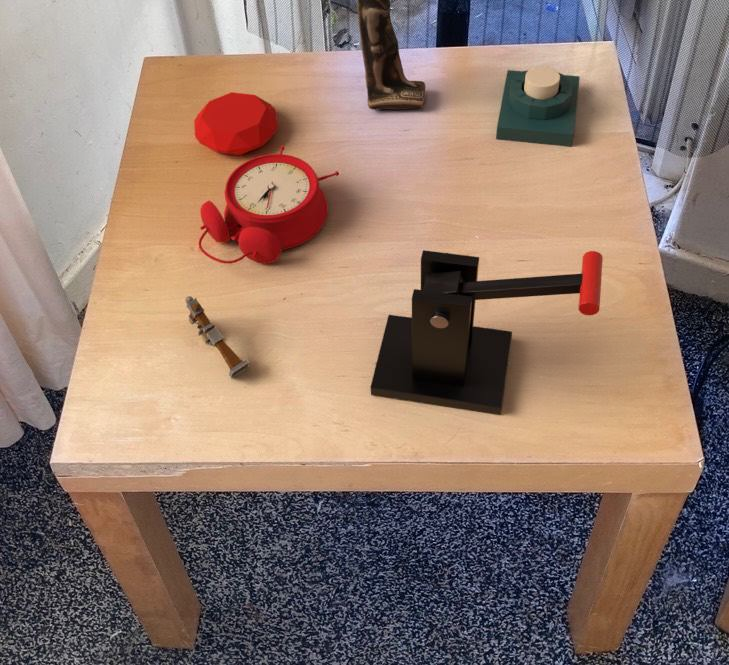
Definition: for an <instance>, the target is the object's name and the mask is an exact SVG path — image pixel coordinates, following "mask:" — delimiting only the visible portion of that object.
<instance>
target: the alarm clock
mask: <svg viewBox="0 0 729 665" xmlns="http://www.w3.org/2000/svg"><path fill="white" fill-rule="evenodd" d="M285 149H286V147H285V145H280V152H279V153H270V154H264V155H260V156H255V157H253V158H251V159H249V160H247V161H245V162H243V163H241V164H240V165H239V166H237V167H236V168H235V169H234V170H233V171H232V172H231V173H230V175H229V176H228V178H227V180H226V183H225V189H224V199H225V202H226V205H225V208H224V213H223V215H222V213H221V212H220V210H219V208H218V207H217V206H216V205H215V204H214V203H213V201H211V200H207V201H205V202H204V203H202V205H201V207H200V218H201V221H202V224H203V225H202V226H200V227H199V228H200V230H202V231H203V230H204V229H205V230H204V232H203V233H202V234H201V236H200V237H199V239H198V249H199V250H200V251H201V253H203V255H205V256H206V257H208V258H209V259H211V260H212V261H215V262H218V263H221V264H228V265H229V264H234V263H238V262H240V261H242V260H243V259H244V258H247V259H249V260H251V261H253V262H255V263H259V264H271V263H274V262H276V261H277V260H278V259H279V257H280V256H281V255H282V251H284V250H288V249H291V248H295V247H297V246H300V245H302V244H304V243H306V242H307V241H309V240H311V239H312V238H313V237H314V236H316V235H317V234H318V233H319V231H320V230H321V229H322V228H323V227H324V225H325V223H326V222H327V218H328V213H329V204H328V200H327V196H326V195H325V193H324V191H323V190H322V189H321V187H320V182H321V181H324V180H326V179H328V178H331V177H334V176H336V177H338V176H340V173H339V172H340V171H338V170H336V171H335V172H334V173H330V174H326V175H323V176H320V177H318V174H317V173H316V172H315V170H314V168H313V167H312V166H311V165H310V164H309V163H307V162H306V161H305V160H304V159H301V158H299V157H297V156H294V155H291V154H284V153H283V152H284V151H285ZM207 233H208V234H209V235H210V237H211V238H212V239H213V240H214V241H216V242H217V243H221V244H224V243H227V242H228V241H230V240H233V241H237V242H238V247H239V250H240V252H241V253H242V254H243V255H241V256H239V257H238V258H235V259H233V260H223V259H220V258H217V257H215V256H213V255H211V254H209V253H208V252H207V251H206V250H205V249H204V248H203V246H202V242H203V240H204V238H205V236H206V234H207Z"/></svg>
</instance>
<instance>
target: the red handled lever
mask: <svg viewBox="0 0 729 665" xmlns="http://www.w3.org/2000/svg"><path fill="white" fill-rule="evenodd" d="M603 261H604V260H603V255H602V253H601V252H599V251H596V250H589V251H586V252H584V253H583V255H582V260H581V270H580V273H570V274H554V275H542V276H529V277H517V278H516V277H515V278H501V279H489V280H488V279H487V280H477V281H473V282H465V281H464V278H463V276H462V273H461V271H453V272H440V273H427V274H426V278H425V283H424V287H423V290H425V291H433V292H441V293H448V294H456V295H463V296H471V297H472V300H476V301H481V300H498V299H513V298H529V297H542V296H543V297H545V296H559V295H574V294H575V295H576V294H579V297H578V307H577V308H578V311H579V313H581V314H582V315H584V316H594V315H597V314H598V313H599V312H600V308H601V293H602V292H601V291H602V277H603V276H602V275H603Z"/></svg>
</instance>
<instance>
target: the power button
mask: <svg viewBox="0 0 729 665" xmlns="http://www.w3.org/2000/svg"><path fill="white" fill-rule="evenodd" d="M527 70H528V71H527ZM527 70H526V71H527V73H526V76H525V85H524V91H525V93H526V95H528V96H530V97H532V98H534V99H543V100H545V99H549V98H553V97H554V96H556V94H557V93H558V88H559V82H560V75H559V73H560V72H559V71H557V69H555V68H554V67H550V66H546V65H539V66H538V65H537V66H533V67H532V68H529V69H527ZM558 72H559V73H558Z"/></svg>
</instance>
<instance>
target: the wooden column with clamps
mask: <svg viewBox="0 0 729 665" xmlns="http://www.w3.org/2000/svg"><path fill="white" fill-rule="evenodd" d="M184 302H185V303H186V305H185V307H186V308H187V309H188V310H189V315H188V316H187V318H188V321H189V323H190V325H194V324H195V325H197V327H196V329H198V330H199V331H198V332H197V333H198V334H197V335H198V336H201V338H202V340H203V342H205V345H207V344H208V345H209V346H212V347H216V349H217V350H218V352H219V353H220V354H221V356H222V358H223V359H224V362H225V363H226V365H227V366H228V369H229V373H228V376H229V377H230V379H231V380H232V379H234V378H235V377H236V376H237V375H239V374H241V373H242V372H244V371H245V370H246V369H248V368H249V365H250V361H249V360H248V359H246V358H245V359H244V360H243V359H242V358H241V357H240V356H238V354H236V353H235V351H234V350H233V349H232V348H231V347H230V346H229V345H228V344H227V343H226V341H225V340H224V338H225V337H224V336H223V335H222V334H221V332H220V331H219V329H218V327H217V326H215V323H214V322H213V321H211V320H210V319H209V317H208V316H207V315H206V312H205V308H203V307H202V305H201V303H200V302H199V300H198V299H197V297H195V298H193V297H192V296H191V295H190V296H189V295H188V296H186V297H185V299H184Z"/></svg>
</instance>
